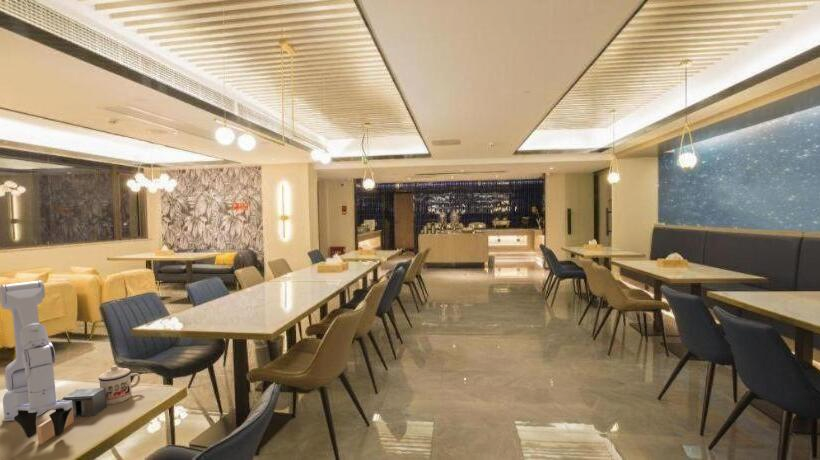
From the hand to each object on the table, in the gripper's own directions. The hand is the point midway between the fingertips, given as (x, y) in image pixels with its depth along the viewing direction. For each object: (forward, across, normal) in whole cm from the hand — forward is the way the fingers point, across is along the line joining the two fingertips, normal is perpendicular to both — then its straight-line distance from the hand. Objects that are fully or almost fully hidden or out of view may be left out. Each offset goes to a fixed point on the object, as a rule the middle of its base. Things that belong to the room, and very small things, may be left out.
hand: (45, 435), depth 119 cm
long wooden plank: (+1, 0, +4) cm, 4 cm away
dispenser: (+1, 0, +16) cm, 16 cm away
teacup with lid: (+2, +5, +26) cm, 27 cm away
